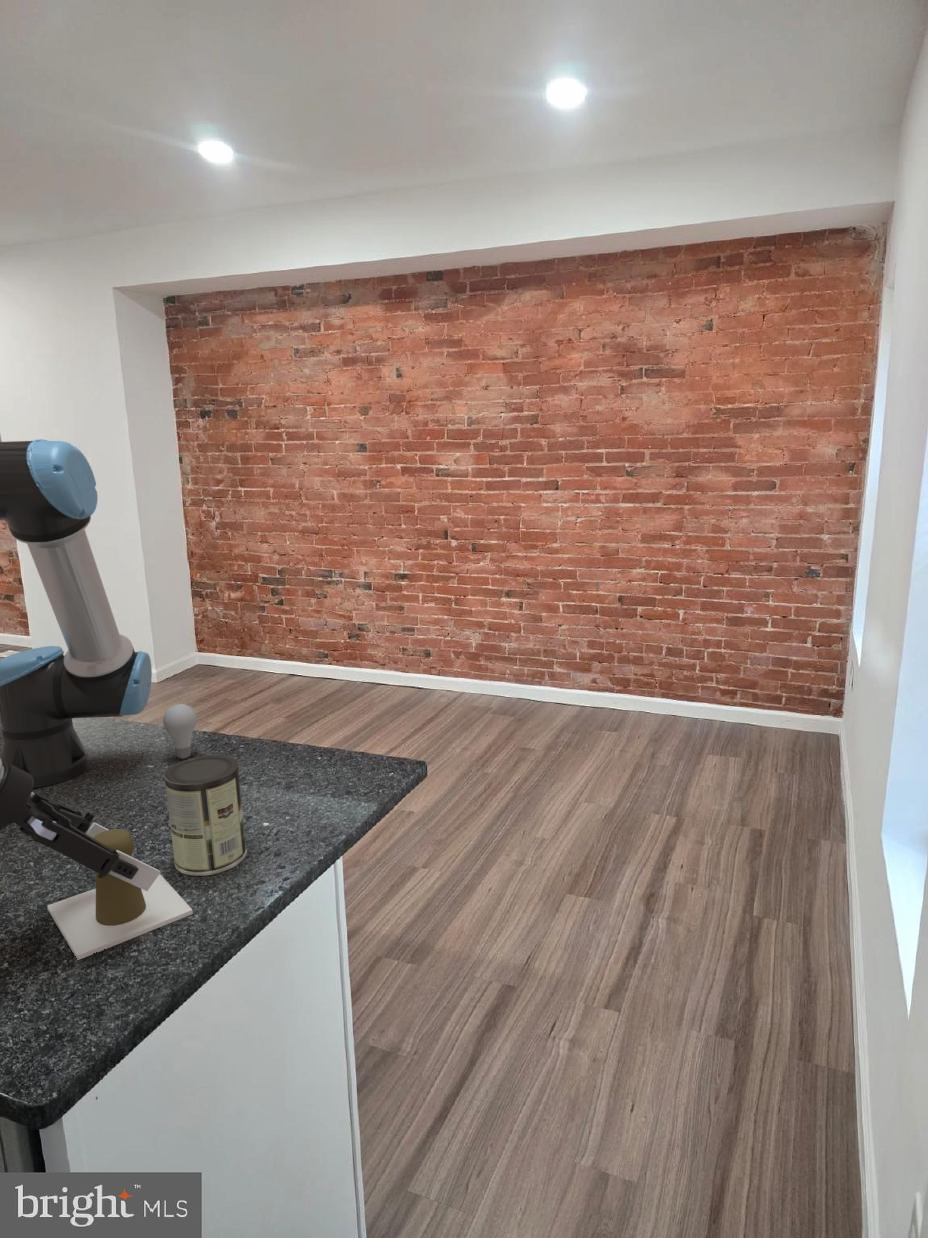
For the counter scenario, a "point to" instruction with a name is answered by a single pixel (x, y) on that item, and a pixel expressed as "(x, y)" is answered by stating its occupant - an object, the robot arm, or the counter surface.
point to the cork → (117, 886)
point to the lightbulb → (180, 727)
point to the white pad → (94, 937)
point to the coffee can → (205, 814)
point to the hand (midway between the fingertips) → (139, 865)
